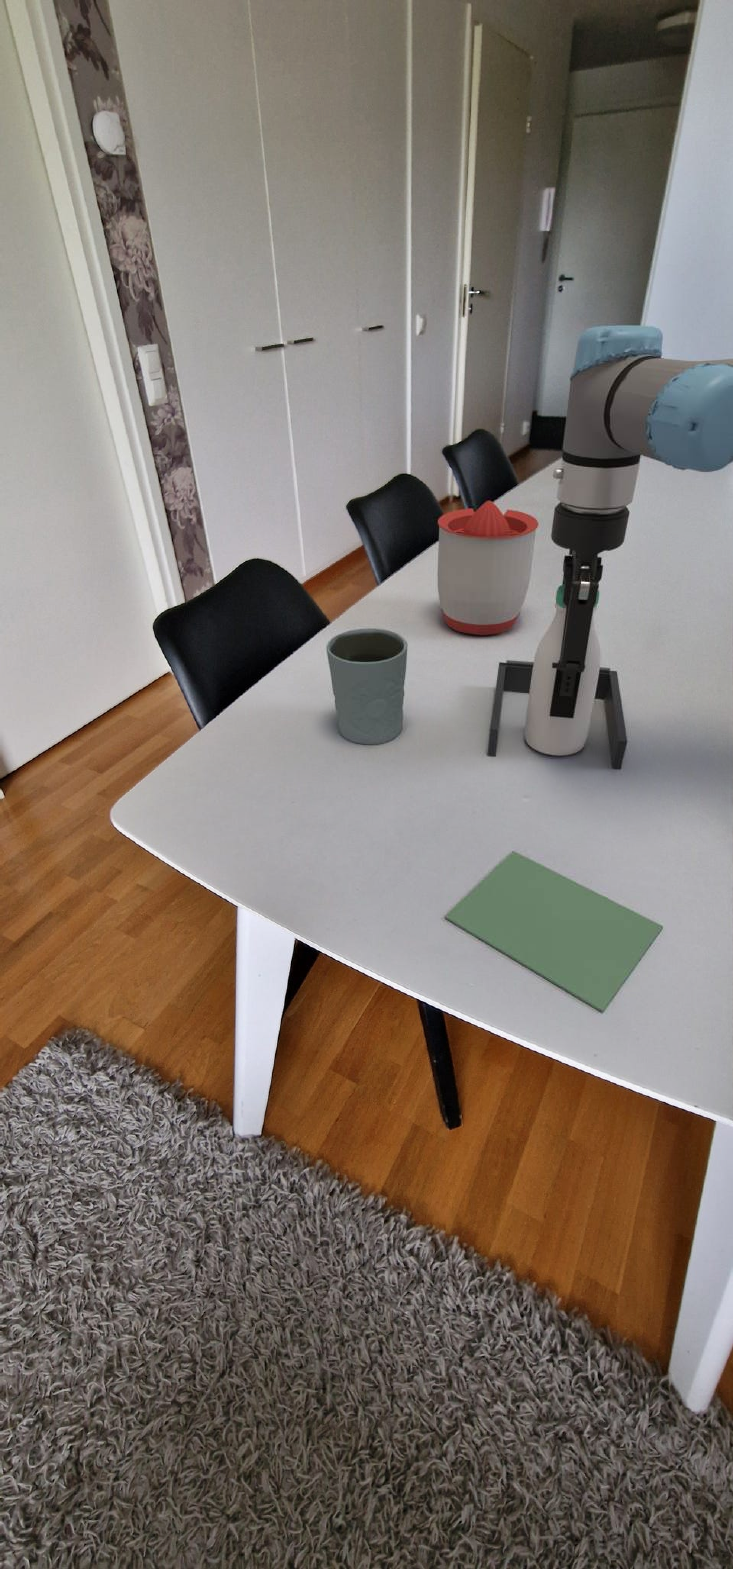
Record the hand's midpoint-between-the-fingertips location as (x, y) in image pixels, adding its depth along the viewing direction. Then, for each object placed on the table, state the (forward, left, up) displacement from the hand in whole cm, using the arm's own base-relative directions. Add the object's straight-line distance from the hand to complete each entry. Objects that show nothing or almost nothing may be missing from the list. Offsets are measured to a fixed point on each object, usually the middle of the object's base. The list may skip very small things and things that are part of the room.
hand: (561, 698), depth 86 cm
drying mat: (-15, +27, -6) cm, 32 cm away
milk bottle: (0, 0, -6) cm, 6 cm away
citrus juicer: (+29, -26, -7) cm, 39 cm away
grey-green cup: (+21, +12, -7) cm, 25 cm away
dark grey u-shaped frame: (+2, -4, -6) cm, 8 cm away
